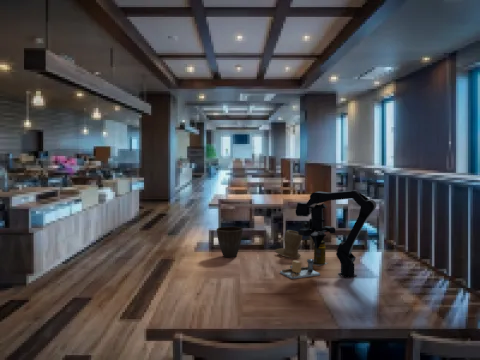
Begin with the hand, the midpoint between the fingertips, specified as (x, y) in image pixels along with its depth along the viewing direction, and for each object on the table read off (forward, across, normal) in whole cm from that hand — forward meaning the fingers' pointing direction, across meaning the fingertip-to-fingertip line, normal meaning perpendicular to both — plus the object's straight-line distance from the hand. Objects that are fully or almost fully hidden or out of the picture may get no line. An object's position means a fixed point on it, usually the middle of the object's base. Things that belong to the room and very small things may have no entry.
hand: (317, 248), depth 215 cm
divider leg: (+10, +12, -1) cm, 16 cm away
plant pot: (+11, +27, -47) cm, 55 cm away
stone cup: (+12, -5, -33) cm, 36 cm away
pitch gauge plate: (+12, +10, 0) cm, 16 cm away
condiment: (+12, -10, -13) cm, 20 cm away
